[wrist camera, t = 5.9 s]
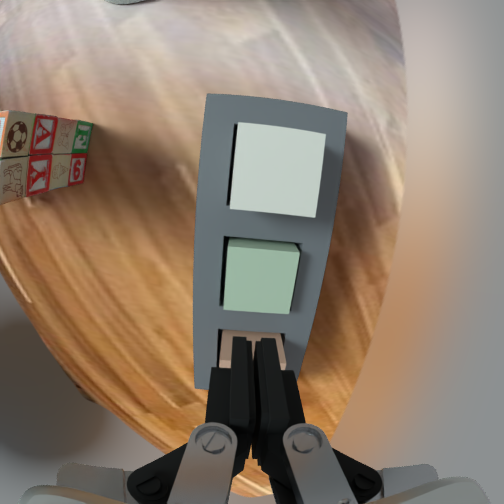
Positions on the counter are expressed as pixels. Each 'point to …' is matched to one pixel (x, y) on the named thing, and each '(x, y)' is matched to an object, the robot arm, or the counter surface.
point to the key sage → (260, 275)
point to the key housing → (258, 227)
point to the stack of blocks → (40, 153)
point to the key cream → (277, 169)
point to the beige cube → (252, 336)
